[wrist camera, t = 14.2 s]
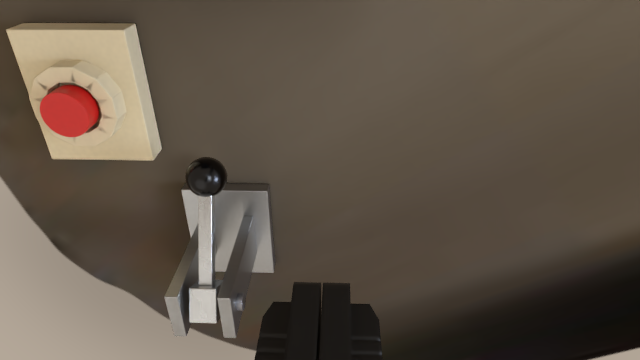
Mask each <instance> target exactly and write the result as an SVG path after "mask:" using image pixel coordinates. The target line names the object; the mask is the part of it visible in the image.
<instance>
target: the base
mask: <svg viewBox="0 0 640 360" xmlns="http://www.w3.org/2000/svg"><path fill="white" fill-rule="evenodd" d="M181 192H182V197H183V202H184V207H185V212H186V217H187V222H188V227H189V232H190V237H191V239H190V242H189V244H188V246H187V248H186V250H185V253H184V255H183V257H182V259H181V261H180V264H179V266H178V268H177V270H176V272H175V275H174V277H173V279H172V281H171V283H170V286H169V288H168V290H167V292H166V295H165V301H166V305H167V309H168V313H169V317H170V320H171V324H172V328H173V332H174V335H175V336H187V333H188V331H189V328H190V325H191V323H190V322H189V288H190V287H191V286H192V285H193V284H194V283H195V282H196V281H197V280H199V267H198V196H197V195H195V194H194V193H193V192H192V191H191V190H190V189H189V188H188V186H187V183H185V184H184V186H183V187H182V189H181ZM274 269H275V253H274V240H273V227H272V214H271V200H270V187H269V184H232V183H226V185H225V187H224V189H223V190H222V191H221V192H220V193H219V194H217V195H215V271H218V272H225V275H224V278H223V282H222V285H221V288H220V291H219V294H218V297H217V300H218V306H219V312H220V317H221V323H222V329H223V335H224V337H226V338H236V336H237V332H238V328H239V323H240V319H241V315H242V311H243V310H244V308H245V302H246V295H247V291H248V287H249V283H250V279H251V275H252V272H259V273H274Z"/></svg>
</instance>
